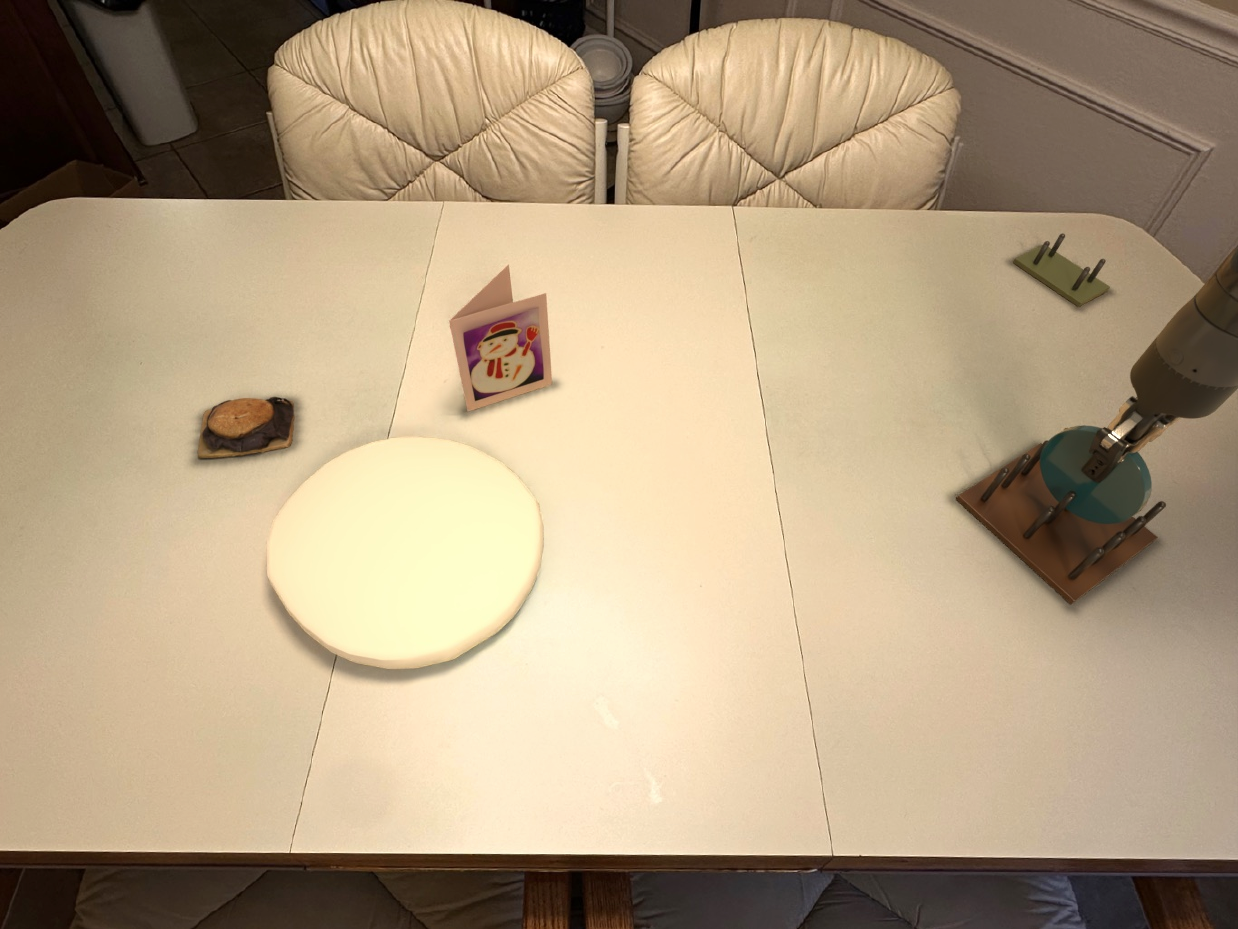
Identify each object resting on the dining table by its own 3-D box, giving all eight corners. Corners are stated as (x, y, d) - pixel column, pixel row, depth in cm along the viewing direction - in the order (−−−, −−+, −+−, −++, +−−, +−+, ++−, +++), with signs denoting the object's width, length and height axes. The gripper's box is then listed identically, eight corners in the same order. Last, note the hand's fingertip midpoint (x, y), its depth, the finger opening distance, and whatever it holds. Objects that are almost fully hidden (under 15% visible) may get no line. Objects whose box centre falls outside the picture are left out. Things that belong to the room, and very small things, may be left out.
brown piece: (197, 463, 87) (183, 444, 84) (207, 410, 92) (194, 390, 89) (292, 451, 89) (281, 431, 86) (296, 399, 93) (286, 378, 90)
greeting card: (469, 416, 93) (451, 325, 81) (451, 376, 96) (431, 285, 85) (554, 388, 96) (549, 297, 84) (533, 351, 100) (525, 259, 88)
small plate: (1029, 468, 86) (1079, 405, 77) (1112, 537, 81) (1175, 477, 72) (1022, 472, 86) (1072, 409, 77) (1105, 542, 80) (1168, 483, 71)
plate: (580, 473, 82) (476, 699, 66) (576, 504, 87) (478, 720, 72) (350, 390, 84) (198, 590, 69) (359, 425, 89) (220, 618, 74)
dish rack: (1038, 446, 92) (1065, 410, 87) (1153, 540, 84) (1192, 507, 79) (955, 499, 87) (979, 464, 82) (1070, 604, 79) (1105, 573, 74)
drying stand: (1041, 248, 117) (1056, 221, 113) (1107, 291, 111) (1126, 264, 107) (1012, 262, 114) (1026, 236, 111) (1078, 307, 108) (1096, 280, 105)
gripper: (1200, 411, 60) (1086, 526, 74) (1288, 350, 65) (1166, 469, 79) (1119, 355, 64) (1025, 475, 78) (1208, 301, 69) (1104, 423, 82)
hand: (1096, 472), depth 78 cm, fingers closed on small plate, 1 cm apart
